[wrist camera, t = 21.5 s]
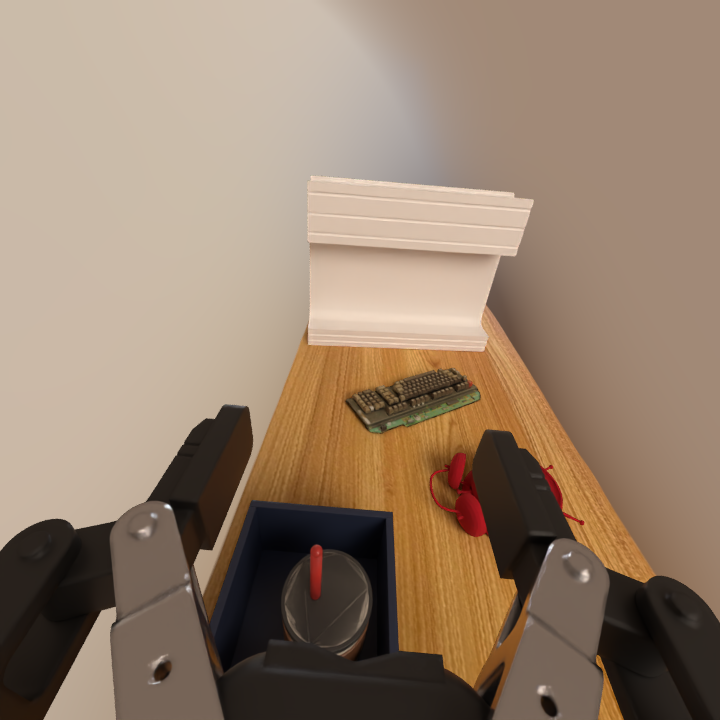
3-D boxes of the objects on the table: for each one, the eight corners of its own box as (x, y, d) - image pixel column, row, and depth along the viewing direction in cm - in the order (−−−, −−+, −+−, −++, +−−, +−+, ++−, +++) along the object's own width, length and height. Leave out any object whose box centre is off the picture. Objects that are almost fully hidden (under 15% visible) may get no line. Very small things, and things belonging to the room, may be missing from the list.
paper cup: (363, 599, 30) (382, 506, 22) (360, 695, 25) (384, 616, 17) (294, 593, 30) (288, 497, 22) (277, 688, 25) (262, 606, 17)
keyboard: (449, 369, 62) (452, 360, 61) (486, 398, 56) (490, 389, 55) (343, 400, 53) (344, 390, 52) (373, 440, 46) (375, 429, 45)
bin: (385, 739, 24) (401, 710, 19) (207, 726, 23) (185, 693, 19) (382, 556, 34) (392, 511, 29) (258, 546, 34) (251, 499, 29)
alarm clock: (600, 534, 34) (462, 506, 31) (560, 564, 37) (433, 541, 34) (551, 452, 42) (440, 424, 40) (523, 482, 46) (419, 459, 43)
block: (470, 332, 75) (512, 192, 60) (483, 351, 69) (534, 200, 53) (310, 324, 72) (310, 175, 57) (308, 344, 65) (307, 181, 50)
